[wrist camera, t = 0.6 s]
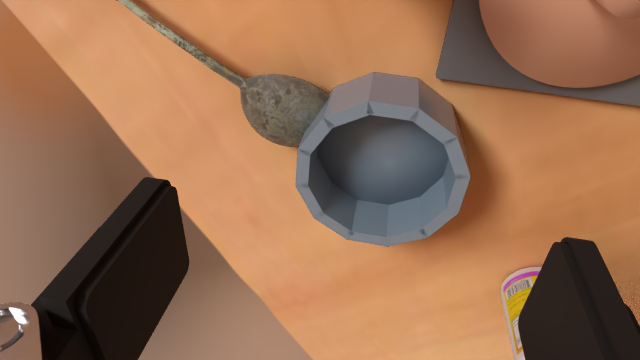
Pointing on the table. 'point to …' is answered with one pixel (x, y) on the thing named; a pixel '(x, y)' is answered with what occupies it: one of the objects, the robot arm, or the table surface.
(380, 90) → the bowl
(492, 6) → the lid
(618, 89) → the mat
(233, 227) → the table surface
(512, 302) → the supplement bottle
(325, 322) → the table surface
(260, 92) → the soupspoon
